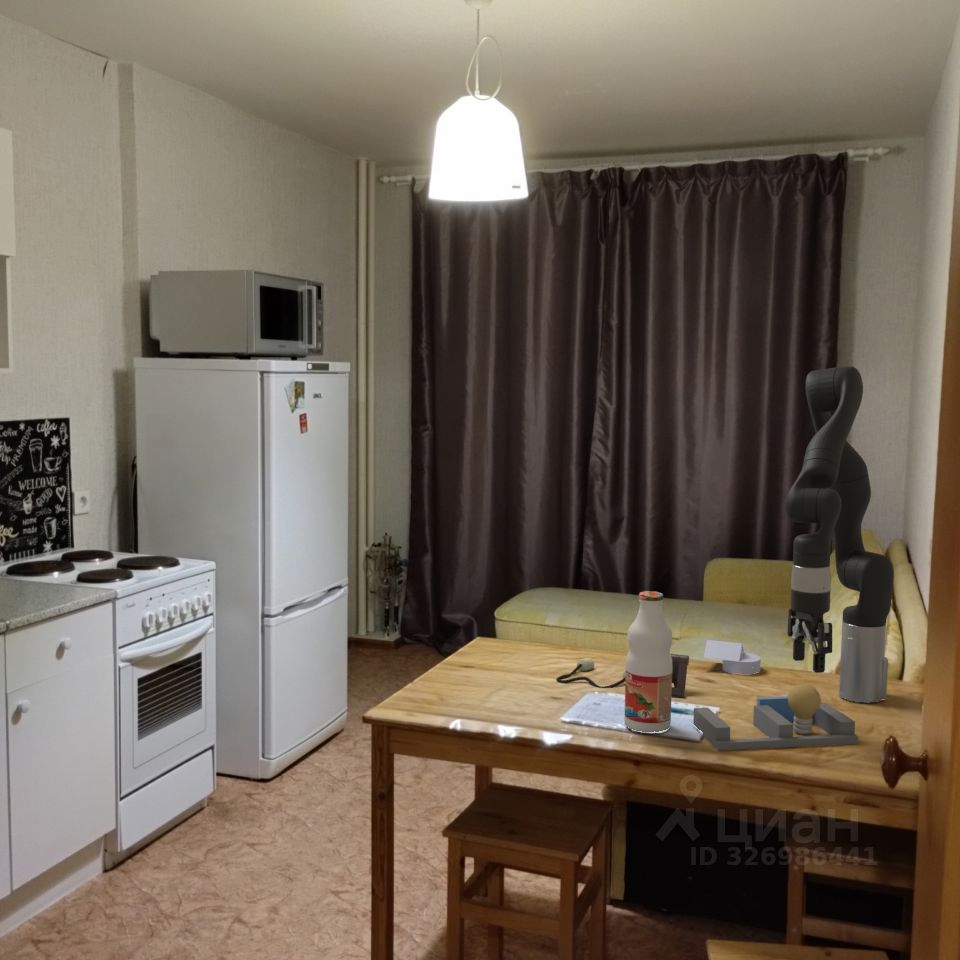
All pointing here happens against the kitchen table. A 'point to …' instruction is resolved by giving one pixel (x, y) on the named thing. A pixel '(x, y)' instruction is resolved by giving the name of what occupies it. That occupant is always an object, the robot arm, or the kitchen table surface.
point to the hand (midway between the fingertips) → (808, 666)
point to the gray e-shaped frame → (777, 727)
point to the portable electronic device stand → (679, 674)
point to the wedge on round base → (733, 657)
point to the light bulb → (803, 706)
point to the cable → (585, 666)
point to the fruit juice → (649, 668)
